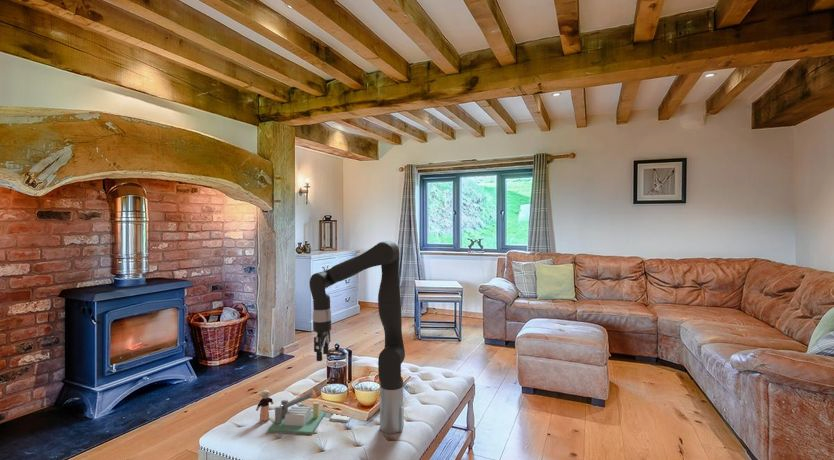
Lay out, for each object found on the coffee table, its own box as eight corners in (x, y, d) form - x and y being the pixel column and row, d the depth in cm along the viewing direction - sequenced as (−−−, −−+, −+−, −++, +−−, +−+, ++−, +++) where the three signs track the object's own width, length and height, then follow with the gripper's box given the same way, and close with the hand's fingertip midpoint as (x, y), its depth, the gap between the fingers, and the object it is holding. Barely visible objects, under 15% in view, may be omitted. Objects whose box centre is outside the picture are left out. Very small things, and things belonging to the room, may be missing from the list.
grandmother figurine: (261, 425, 157) (261, 394, 157) (254, 423, 159) (254, 392, 159) (276, 416, 164) (275, 387, 164) (269, 414, 166) (269, 385, 165)
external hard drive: (358, 409, 172) (348, 423, 160) (341, 407, 174) (329, 421, 161) (358, 405, 172) (348, 419, 160) (341, 404, 174) (329, 417, 161)
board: (325, 414, 166) (325, 396, 166) (312, 434, 150) (312, 415, 150) (285, 412, 168) (285, 395, 168) (267, 432, 152) (267, 413, 152)
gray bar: (315, 394, 160) (312, 389, 160) (311, 398, 156) (309, 393, 156) (282, 408, 162) (280, 403, 162) (278, 413, 158) (276, 408, 158)
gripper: (325, 323, 156) (326, 363, 156) (335, 315, 170) (336, 351, 170) (307, 323, 156) (308, 363, 157) (319, 315, 171) (319, 351, 171)
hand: (322, 357), depth 163 cm, fingers open, 8 cm apart
